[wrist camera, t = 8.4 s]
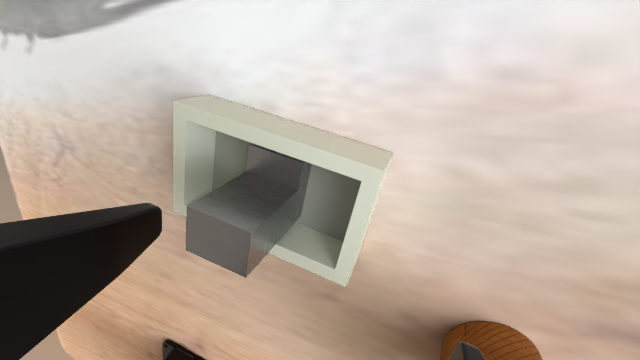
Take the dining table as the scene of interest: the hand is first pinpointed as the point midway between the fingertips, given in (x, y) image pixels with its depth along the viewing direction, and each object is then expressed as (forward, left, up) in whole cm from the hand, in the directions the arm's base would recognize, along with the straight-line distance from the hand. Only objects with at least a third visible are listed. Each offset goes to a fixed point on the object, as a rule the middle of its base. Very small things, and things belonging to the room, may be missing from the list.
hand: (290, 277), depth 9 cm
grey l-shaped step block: (-4, +6, -13) cm, 15 cm away
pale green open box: (-4, +6, -13) cm, 15 cm away
